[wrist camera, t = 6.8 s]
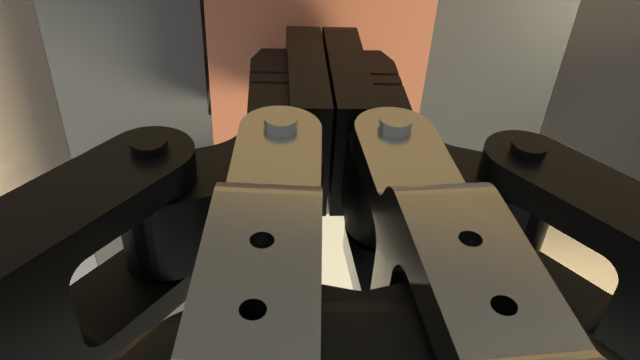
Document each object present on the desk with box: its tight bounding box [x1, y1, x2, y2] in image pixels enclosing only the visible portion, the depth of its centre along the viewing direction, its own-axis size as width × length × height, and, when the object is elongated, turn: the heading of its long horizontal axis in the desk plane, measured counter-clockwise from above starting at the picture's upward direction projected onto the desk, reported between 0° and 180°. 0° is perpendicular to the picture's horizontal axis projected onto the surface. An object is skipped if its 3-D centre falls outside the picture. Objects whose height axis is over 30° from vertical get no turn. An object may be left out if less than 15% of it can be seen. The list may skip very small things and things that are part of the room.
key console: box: [33, 0, 581, 321], centre depth 21 cm, size 14×22×4 cm, turn 177°
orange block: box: [204, 0, 438, 145], centre depth 15 cm, size 5×5×4 cm
